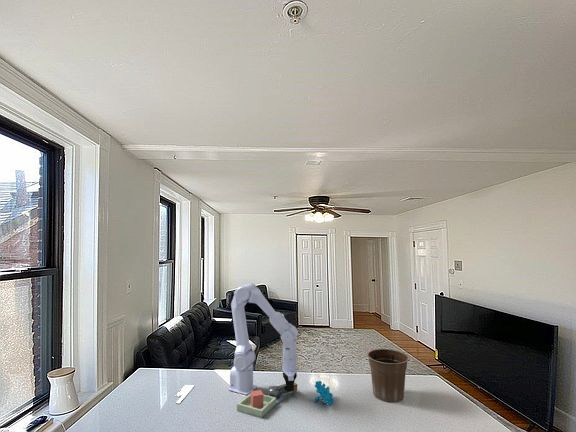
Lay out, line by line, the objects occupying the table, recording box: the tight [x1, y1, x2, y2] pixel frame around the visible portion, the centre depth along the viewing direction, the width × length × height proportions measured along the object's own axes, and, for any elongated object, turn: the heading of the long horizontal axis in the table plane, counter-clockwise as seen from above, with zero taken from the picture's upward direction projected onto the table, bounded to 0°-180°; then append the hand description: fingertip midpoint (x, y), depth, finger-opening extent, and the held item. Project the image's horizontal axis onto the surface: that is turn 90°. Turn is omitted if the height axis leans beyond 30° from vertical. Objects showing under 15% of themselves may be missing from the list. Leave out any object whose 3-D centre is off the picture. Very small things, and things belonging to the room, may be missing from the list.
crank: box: [268, 382, 298, 399], centre depth 138 cm, size 12×5×3 cm, turn 126°
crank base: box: [267, 393, 286, 405], centre depth 137 cm, size 6×10×1 cm, turn 153°
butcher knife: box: [175, 384, 195, 405], centre depth 138 cm, size 5×15×1 cm, turn 174°
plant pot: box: [366, 348, 410, 403], centre depth 139 cm, size 16×16×16 cm
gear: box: [314, 380, 335, 407], centre depth 133 cm, size 11×6×10 cm
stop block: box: [250, 389, 264, 409], centre depth 128 cm, size 4×4×5 cm
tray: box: [236, 392, 277, 419], centre depth 128 cm, size 11×11×2 cm
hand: (289, 391), depth 137 cm, fingers closed
